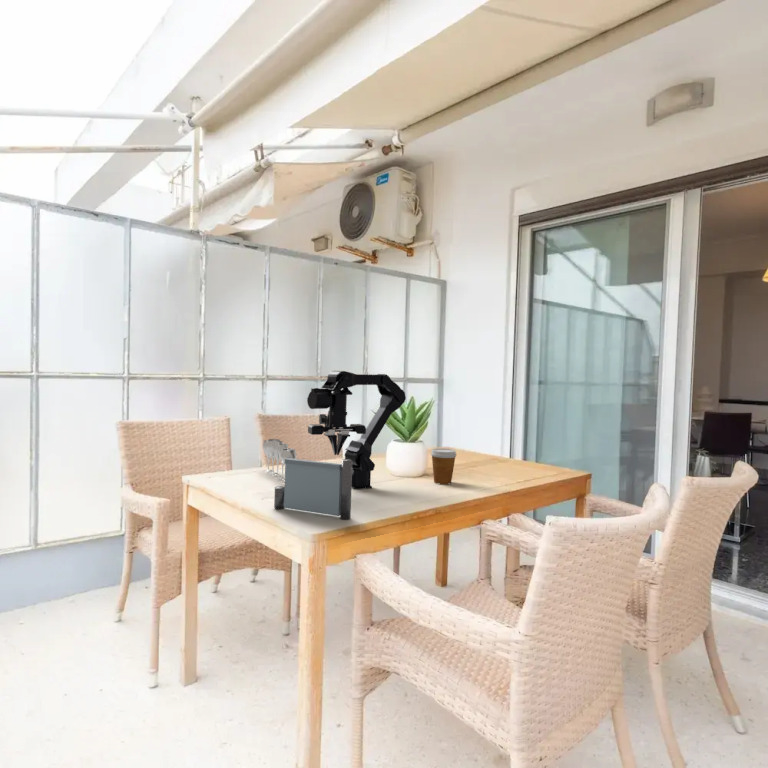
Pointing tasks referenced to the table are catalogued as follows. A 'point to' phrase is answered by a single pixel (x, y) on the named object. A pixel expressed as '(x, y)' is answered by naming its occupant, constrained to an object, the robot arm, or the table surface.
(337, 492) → the panel
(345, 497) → the posts
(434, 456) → the disposable coffee cup
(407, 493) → the table surface
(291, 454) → the goblet set
